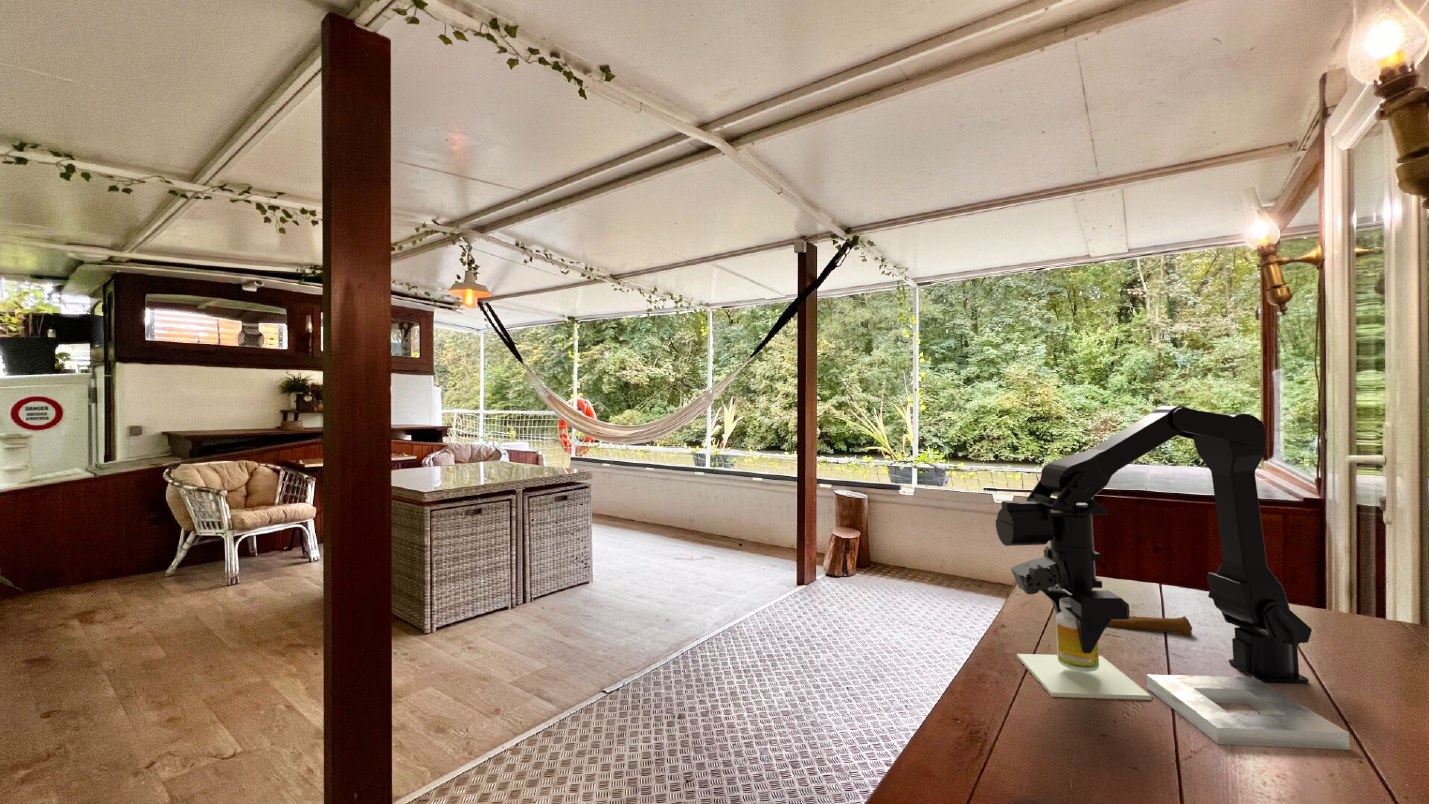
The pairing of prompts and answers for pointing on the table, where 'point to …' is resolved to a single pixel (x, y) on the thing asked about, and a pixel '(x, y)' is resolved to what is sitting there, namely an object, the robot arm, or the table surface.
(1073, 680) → the sage pad
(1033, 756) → the table surface
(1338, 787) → the table surface
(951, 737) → the table surface
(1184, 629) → the primitive tool
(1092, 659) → the supplement bottle
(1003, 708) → the table surface
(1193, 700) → the post foot
